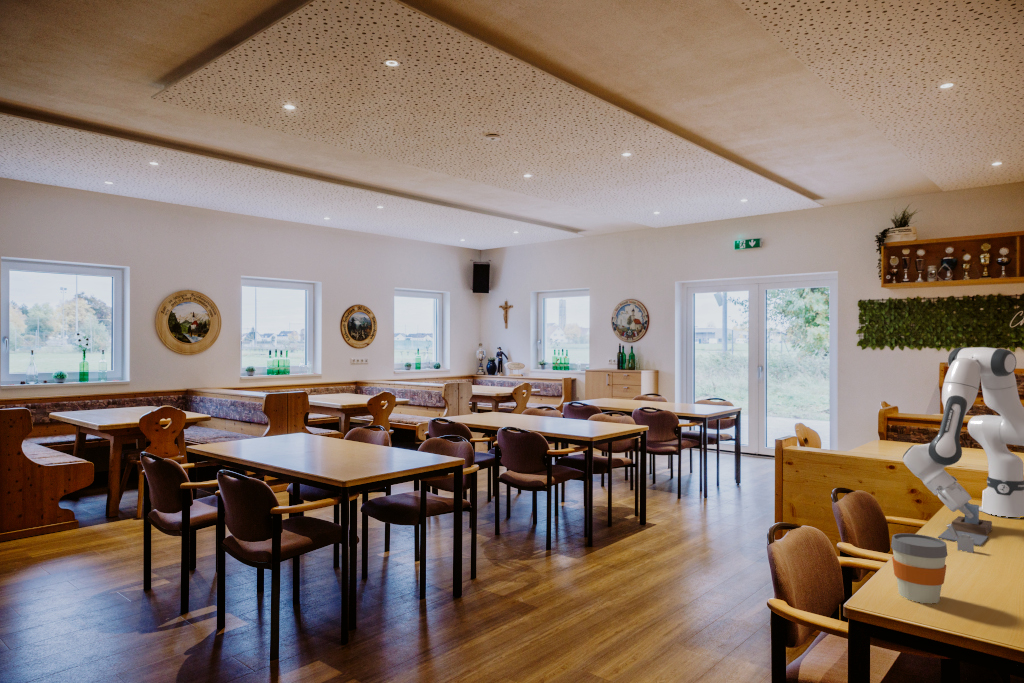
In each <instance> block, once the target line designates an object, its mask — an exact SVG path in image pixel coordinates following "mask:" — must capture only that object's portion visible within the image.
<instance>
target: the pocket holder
mask: <svg viewBox="0 0 1024 683" xmlns="http://www.w3.org/2000/svg"><path fill="white" fill-rule="evenodd" d="M951 524H952V525H953V526H954V528H955V530H956V531H962V532H968V533H974V534H979V535H985V536H988V535H989V533H991V531H992V530H993V522H992V520H986V519H980V518H979V525H978V524H972V523H965V516H962V515H961V516H960V515H958V516H957V517H956V518H955V519H954V520H952V521H951ZM991 529H992V530H991Z"/></svg>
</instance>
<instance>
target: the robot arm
mask: <svg viewBox="0 0 1024 683" xmlns="http://www.w3.org/2000/svg"><path fill="white" fill-rule="evenodd" d="M947 359H948V360H947V362H948V363H947V364H948V366H949V367H948V369H947V372H946V374H945V377H944V379H943V383H942V388H941V403H942V406H943V415H942V418H941V419H942V420H941V422H940V426H939V431H938V434H937V435H936V436H935V437H934V438H933V439H932V440H931V442H928V443H924V444H923V443H922V444H914V445H911V446H910V447H909V448H908V449H907V450H906V451H905V452H904V453H903V456H902V461H903V464H904V465H905V467H907V469H908V470H910V472H911V473H912V474H913V475H914V476H915V477H917V478H919V480H921V481H922V483H923V485H924V486H925V487H926V488H927V489H928V490H929V491H930V492H931V493H932V494H933V495H934V496H937V497H938V498H939V500H940V501H941V502H942V503H943V504H944V505H945V507H947V508H948V510H950V511H951V512H952V513H955V512H956V511H957V510H958V511H960V512H961V513H962V514H963V515H964V516H965V515H966V516H967V517H968V518H972V517H974V514H973V513H972V512H970V511H969V510H968V509H967V508H966V507H965V505H966V504H971V503H970V502H969V501H971V500H972V497H971V494H969V492H967V490H966V489H965V488H964V487H963V486H962V485H961V484H960V483H959V482H958V479H957V478H956V477H955V476H953V475H952V474H950V473H948V472H947V471H946V470H945V468H946V467H949V466H952V465H955V464H956V463H958V462H959V461H960V459H962V456H963V449H962V446H961V442H960V437H961V431H962V426H963V424H964V423H963V422H964V419H965V416H966V415H967V413H968V412H969V411H970V409H971V408H972V406H973V404H974V403H975V401H976V399H977V396H978V393H979V389H980V383H981V390H982V392H981V393H982V396H983V402H984V404H985V405H986V406H987V407H988V408H989V409H991V410H993V411H995V412H996V413H998V414H999V415H994V414H993V415H992V414H980V415H979V414H978V415H974V416H972V417H971V418H970V419H969V420H968V423H967V427H966V428H967V431H968V434H969V435H970V437H972V439H974V440H975V441H976V442H977V443H978V444H979V445H980V446H981V447H982V448H983V449H982V450H984V453H985V455H986V458H987V465H988V466H987V468H988V470H987V471H988V476H987V479H986V486H987V487H986V488H984V489H982V497H981V505H979V512H983V513H985V514H989V515H991V514H992V515H993V516H995V515H997V516H996V517H1001V516H1006V517H1005V518H1008V517H1020V516H1024V461H1023V460H1022V459H1021V457H1020V456H1018V455H1017V454H1015V453H1014V452H1011V451H1010V450H1009V449H1008V446H1007V445H1012V446H1023V447H1024V405H1023V404H1022V402H1021V399H1020V395H1019V391H1018V384H1017V379H1016V376H1015V372H1014V371H1015V370H1016V368H1017V358H1016V356H1015V354H1014V353H1013V352H1012V351H1011V350H1009V349H1005V348H995V347H986V346H980V347H978V346H977V347H975V346H974V347H972V346H971V347H965V346H963V347H961V346H960V347H956V348H954V349H953V350H951V352H950V353H949V355H948V358H947Z"/></svg>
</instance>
